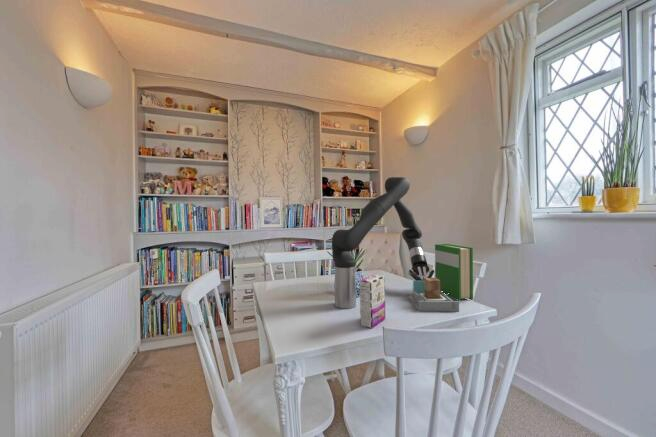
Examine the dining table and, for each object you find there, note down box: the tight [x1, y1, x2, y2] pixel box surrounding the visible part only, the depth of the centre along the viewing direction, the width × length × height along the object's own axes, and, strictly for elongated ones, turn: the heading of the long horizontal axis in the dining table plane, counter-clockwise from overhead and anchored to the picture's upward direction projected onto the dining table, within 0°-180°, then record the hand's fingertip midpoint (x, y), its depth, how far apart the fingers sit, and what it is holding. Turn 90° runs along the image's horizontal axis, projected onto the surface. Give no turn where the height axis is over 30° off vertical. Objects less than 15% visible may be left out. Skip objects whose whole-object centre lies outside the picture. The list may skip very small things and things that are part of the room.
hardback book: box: [434, 243, 474, 301], centre depth 129 cm, size 18×7×24 cm, turn 12°
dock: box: [408, 290, 460, 312], centre depth 115 cm, size 16×17×4 cm
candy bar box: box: [359, 274, 386, 329], centre depth 97 cm, size 11×5×16 cm, turn 143°
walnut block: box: [424, 277, 440, 299], centre depth 115 cm, size 5×5×9 cm
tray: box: [412, 280, 447, 301], centre depth 116 cm, size 12×15×7 cm
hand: (425, 287), depth 124 cm, fingers closed
